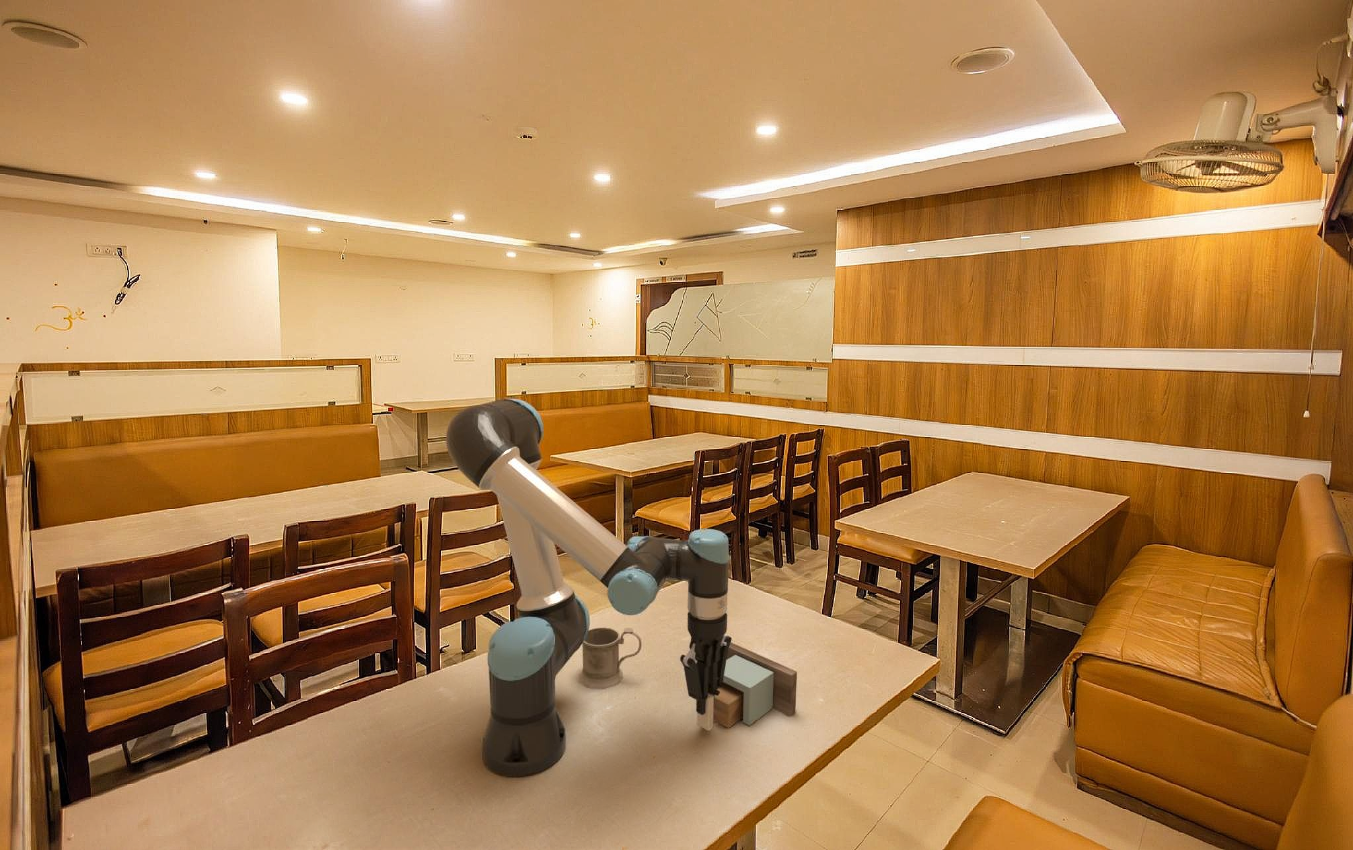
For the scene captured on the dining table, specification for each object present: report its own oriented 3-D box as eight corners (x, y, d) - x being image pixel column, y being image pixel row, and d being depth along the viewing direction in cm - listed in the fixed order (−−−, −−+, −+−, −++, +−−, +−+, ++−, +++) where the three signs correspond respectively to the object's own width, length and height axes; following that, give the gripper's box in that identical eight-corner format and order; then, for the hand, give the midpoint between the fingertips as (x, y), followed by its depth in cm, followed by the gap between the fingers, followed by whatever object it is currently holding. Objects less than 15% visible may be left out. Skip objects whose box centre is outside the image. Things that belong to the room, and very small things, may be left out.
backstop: (789, 716, 128) (791, 675, 127) (721, 682, 140) (722, 644, 139) (795, 712, 129) (797, 671, 128) (727, 678, 142) (727, 641, 140)
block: (749, 725, 125) (750, 688, 123) (710, 704, 131) (711, 669, 130) (772, 708, 130) (773, 672, 129) (734, 689, 137) (735, 654, 136)
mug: (572, 685, 139) (571, 634, 137) (588, 662, 148) (588, 614, 146) (634, 694, 135) (634, 642, 133) (647, 670, 145) (647, 621, 143)
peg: (728, 728, 124) (728, 704, 123) (709, 717, 127) (708, 695, 127) (755, 707, 130) (755, 685, 130) (736, 698, 134) (736, 676, 133)
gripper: (700, 630, 112) (697, 750, 116) (744, 606, 122) (740, 718, 125) (669, 617, 117) (667, 732, 121) (713, 595, 127) (711, 703, 130)
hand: (704, 725), depth 123 cm, fingers closed
